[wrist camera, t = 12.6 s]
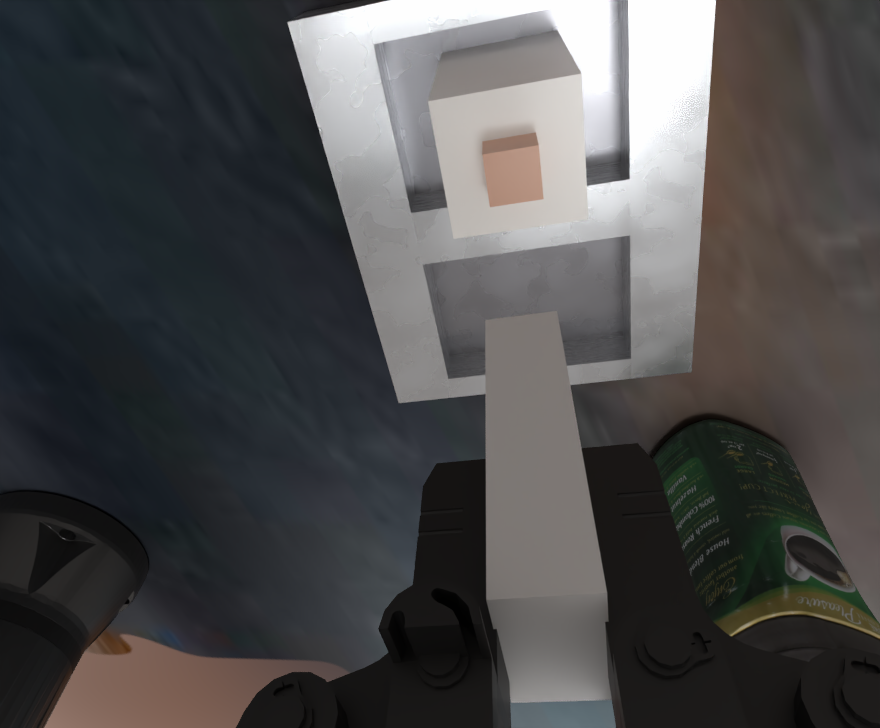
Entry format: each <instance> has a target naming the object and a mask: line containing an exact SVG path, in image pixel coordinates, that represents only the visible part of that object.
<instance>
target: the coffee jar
mask: <svg viewBox="0 0 880 728" xmlns="http://www.w3.org/2000/svg"><path fill="white" fill-rule="evenodd" d="M652 460H653V461H654V462H655V463H656V464H657V467H658V470H659V473H660V477H661V480H662V483H663V486H664V490H665V495H666V496H667V499H668V503H669V506H670V509H671V515H672V516H673V519H674V522H675V526H676V529H677V532H678V535H679V539H680V542H681V545H682V548H683V552H684V555H685V558H686V561H687V565H688V568H689V571H690V575H691V578H692V581H693V584H694V588H695V591H696V594H697V597H698V599H699V601H700V603H701V605H702V608H703V609H704V611H705V612H706V613H707V615H708V616H709V617H710V618H711V620H712V621H713V622H714V623H715V624H716V625H717V626H719V627H720V628H721V629H722V630H723V631H724V632H725V633H727V634H728V635H730V636H732V637H733V638H735V639H737V640H739V641H740V642H742V643H744V644H747V645H750V646H753V647H755V648H758V649H761V650H765V651H769V652H772V653H776V654H780V655H784V656H788V657H792V658H796V659H800V660H803V661H807V662H809V661H810V659H812V658H813V657H815V656H817V655H819V654H821V653H822V652H824V651H826V650H828V649H841V648H854V649H858V650H862V651H866V652H870V653H874V654H877V655H879V656H880V624H879V622H878V621H877V620H876V618H875V617H874V615H873V614H872V612H871V611H870V609H869V608H868V606H867V605H866V603H865V602H864V600H863V598H862V597H861V595H860V593H859V592H858V590H857V588H856V587H855V585H854V583H853V582H852V580H851V578H850V576H849V574H848V572H847V570H846V568H845V566H844V564H843V562H842V560H841V558H840V556H839V554H838V552H837V550H836V548H835V546H834V544H833V542H832V540H831V538H830V536H829V534H828V532H827V530H826V528H825V526H824V524H823V521H822V520H821V518H820V516H819V514H818V511H817V509H816V507H815V505H814V503H813V500H812V498H811V496H810V494H809V492H808V490H807V487H806V485H805V483H804V481H803V479H802V477H801V475H800V473H799V471H798V469H797V467H796V465H795V463H794V461H793V459H792V457H791V456H790V454H789V453H788V451H787V450H785V449H784V448H783V447H782V446H780V445H778V444H777V443H775V442H774V441H772V440H770V439H768V438H767V437H765V436H763V435H761V434H758V433H756V432H754V431H752V430H749V429H747V428H744V427H741V426H738V425H735V424H732V423H729V422H726V421H722V420H715V419H711V420H704V421H701V422H697V423H694V424H691V425H689V426H687V427H685V428H684V429H682V430H681V431H679V432H677V433H676V434H674V435H673V436H672V437H671V438H670V439H668V440H667V441H666V442H665V443H664V445H663V446H662V447H661V448H660V449H659V450H658V452H657V453H656V454H655V456H654V457H653V459H652Z"/></svg>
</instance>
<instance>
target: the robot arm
mask: <svg viewBox="0 0 880 728" xmlns="http://www.w3.org/2000/svg"><path fill="white" fill-rule="evenodd" d="M485 377H486V459H480V460H469V461H459V462H448V463H437V464H436V465H435V467H434V469H433V471H432V472H431V474H430V476H429V477H428V479H427V481H426V482H425V484H424V486H423V493H422V503H421V516H420V522H419V537H418V541H417V551H416V560H415V570H414V580H413V585H412V586H410V587H409V588H407V589H406V590H404V591H403V592H401V593H399V594H398V595H397V596H396V597H395V598H394V600H393V601H392V602H391V603H390V604H389V606H388V607H387V608H386V609H385V611H384V614H383V617H382V620H381V623H380V626H379V632H380V634H381V636H382V638H383V641H384V643H385V645H386V647H387V650H388V652H389V653H387V654H386V655H385V656H384V657H382V658H381V659H380V660H379V661H377V662H375V663H373V664H371V665H369V666H367V667H365V668H363V669H360V670H358V671H355V672H353V673H350V674H347V675H345V676H342V677H340V678H337V679H335V680H332V681H330V682H326V680H325V679H323V678H321V677H319V676H317V675H315V674H313V673H311V672H292V673H289V674H287V675H284V676H281V677H279V678H277V679H274V680H273V681H271V682H270V683H269V684H268V685H267V686H265V687H264V688H263V689H262V690H261V691H259V692H258V693H257V694H256V696H255V697H254V698H253V700H252V701H251V703H250V704H249V706H248V707H247V708H246V710H245V711H244V713H243V715H242V717H241V719H240V721H239V723H238V725H237V727H236V728H511V713H510V698H511V702H512V703H522V702H555V701H588V700H612V704H613V710H614V716H615V722H616V728H880V656H879V655H877V654H874V653H870V652H866V651H862V650H858V649H854V648H841V649H828V650H826V651H824V652H822V653H821V654H819V655H817V656H815V657H813V658H812V659H810V661H809V662H807V661H803V660H800V659H796V658H792V657H788V656H784V655H780V654H776V653H772V652H769V651H765V650H761V649H758V648H755V647H753V646H750V645H747V644H744V643H742V642H740V641H739V640H737V639H735V638H733V637H732V636H730V635H728V634H727V633H725V632H724V631H723V630H722V629H721V628H720V627H719V626H717V625H716V624H715V623H714V622H713V621H712V620H711V618H710V617H709V616H708V615H707V613H706V612H705V611H704V609H703V608H702V605H701V603H700V601H699V599H698V597H697V594H696V591H695V588H694V584H693V581H692V578H691V575H690V571H689V568H688V565H687V561H686V558H685V555H684V552H683V548H682V545H681V542H680V539H679V535H678V532H677V529H676V526H675V522H674V519H673V516H672V515H671V509H670V506H669V503H668V499H667V496H666V495H665V490H664V486H663V483H662V480H661V477H660V473H659V470H658V467H657V464H656V463H655V462H654V461H653V460H652V459H651V457H650V456H649V455H648V454H647V453H646V452H645V451H644V450H643V449H642V448H641V447H640V446H639V444H638V443H635V444H624V445H614V446H603V447H592V448H581V443H580V438H579V432H578V426H577V421H576V415H575V410H574V404H573V398H572V393H571V387H570V381H569V376H568V370H567V365H566V359H565V353H564V348H563V342H562V336H561V331H560V325H559V320H558V314H557V311H552V312H544V313H536V314H528V315H520V316H513V317H505V318H497V319H489V320H485ZM148 568H149V565H148V558H147V555H146V553H145V551H144V549H143V547H142V546H141V544H140V543H139V541H138V540H137V539H136V538H135V537H134V536H133V534H132V533H130V532H129V531H128V530H127V529H126V528H125V527H124V526H122V525H121V524H120V523H119V522H117V521H116V520H114V519H113V518H111V517H110V516H108V515H106V514H104V513H103V512H101V511H99V510H97V509H95V508H93V507H91V506H88V505H86V504H84V503H81V502H78V501H75V500H72V499H69V498H66V497H62V496H58V495H53V494H48V493H40V492H12V493H6V494H2V495H0V728H44V727H45V725H46V723H47V721H48V719H49V717H50V716H51V714H52V712H53V710H54V708H55V706H56V704H57V702H58V700H59V698H60V697H61V695H62V693H63V691H64V689H65V687H66V685H67V683H68V681H69V679H70V677H71V675H72V673H73V671H74V670H75V667H76V666H77V664H78V662H79V660H80V658H81V657H82V655H83V653H84V652H85V650H86V649H87V648H88V647H89V646H90V645H91V644H92V643H93V642H94V641H95V640H96V639H97V638H98V637H99V635H100V634H101V633H102V632H103V631H104V630H105V629H106V628H107V627H108V626H109V624H110V623H111V622H112V621H113V620H114V618H115V617H116V616H117V614H118V613H119V612H121V611H123V610H124V609H125V608H127V607H128V606H129V605H130V604H131V602H132V601H133V600H134V599H135V597H136V596H137V594H138V592H139V590H140V588H141V586H142V584H143V582H144V580H145V578H146V576H147V573H148Z"/></svg>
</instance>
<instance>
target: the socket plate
mask: <svg viewBox="0 0 880 728" xmlns="http://www.w3.org/2000/svg"><path fill="white" fill-rule="evenodd" d="M715 4H716V0H358V1H354V2H349V3H344V4H340V5H335V6H330V7H325V8H321V9H316V10H311V11H307V12H303V13H301V14H300V15H298V16H296V17H295V18H293V19H292V20H290V21H288V26H289V29H290V33H291V36H292V40H293V43H294V46H295V50H296V53H297V57H298V60H299V63H300V67H301V70H302V74H303V77H304V81H305V84H306V87H307V91H308V94H309V98H310V101H311V104H312V108H313V111H314V115H315V118H316V122H317V125H318V128H319V132H320V135H321V139H322V142H323V146H324V149H325V152H326V156H327V159H328V163H329V166H330V169H331V173H332V176H333V180H334V183H335V187H336V190H337V193H338V197H339V200H340V204H341V207H342V210H343V214H344V217H345V221H346V224H347V228H348V231H349V234H350V238H351V241H352V245H353V248H354V251H355V255H356V258H357V262H358V265H359V269H360V272H361V275H362V279H363V282H364V286H365V289H366V292H367V296H368V299H369V303H370V306H371V310H372V313H373V316H374V320H375V323H376V327H377V330H378V333H379V337H380V340H381V344H382V347H383V351H384V354H385V357H386V361H387V364H388V368H389V371H390V375H391V378H392V381H393V385H394V388H395V392H396V395H397V398H398V402H399V403H405V402H414V401H424V400H433V399H443V398H452V397H461V396H471V395H480V394H486V377H485V320H489V319H497V318H505V317H513V316H520V315H528V314H536V313H544V312H552V311H557V314H558V320H559V325H560V331H561V336H562V342H563V348H564V353H565V359H566V365H567V370H568V376H569V381H570V385H575V384H584V383H593V382H603V381H612V380H622V379H631V378H641V377H650V376H659V375H669V374H678V373H688V372H691V371H692V356H693V340H694V325H695V310H696V294H697V279H698V264H699V248H700V233H701V218H702V203H703V187H704V172H705V157H706V141H707V126H708V111H709V95H710V80H711V65H712V50H713V34H714V19H715ZM557 30H558V32H559V34H560V36H561V37H562V39H563V41H564V43H565V45H566V46H567V48H568V50H569V52H570V54H571V55H572V57H573V59H574V61H575V63H576V64H577V66H578V68H579V70H580V72H581V73H582V94H583V116H584V137H585V158H586V179H587V200H588V219H587V220H581V221H574V222H567V223H560V224H553V225H546V226H539V227H532V228H526V229H519V230H512V231H505V232H498V233H491V234H484V235H478V236H471V237H464V238H457V239H453V233H452V228H451V223H450V217H449V212H448V207H447V201H446V196H445V190H444V185H443V180H442V174H441V169H440V164H439V158H438V153H437V148H436V142H435V137H434V132H433V126H432V121H431V115H430V110H429V105H428V99H429V96H430V92H431V89H432V85H433V82H434V78H435V75H436V71H437V68H438V64H439V61H440V57H441V54H442V53H443V52H448V51H453V50H458V49H464V48H469V47H474V46H479V45H484V44H489V43H495V42H500V41H505V40H510V39H515V38H520V37H526V36H531V35H536V34H541V33H546V32H551V31H557Z"/></svg>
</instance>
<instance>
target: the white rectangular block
mask: <svg viewBox="0 0 880 728" xmlns="http://www.w3.org/2000/svg"><path fill="white" fill-rule="evenodd" d="M428 105H429V110H430V115H431V121H432V126H433V132H434V137H435V142H436V148H437V153H438V158H439V164H440V169H441V174H442V180H443V185H444V190H445V196H446V201H447V207H448V212H449V217H450V223H451V228H452V233H453V239H457V238H464V237H471V236H478V235H484V234H491V233H498V232H505V231H512V230H519V229H526V228H532V227H539V226H546V225H553V224H560V223H567V222H574V221H581V220H587V219H588V200H587V179H586V158H585V137H584V116H583V94H582V73H581V72H580V70H579V68H578V66H577V64H576V63H575V61H574V59H573V57H572V55H571V54H570V52H569V50H568V48H567V46H566V45H565V43H564V41H563V39H562V37H561V36H560V34H559V32H558V30H557V31H551V32H546V33H541V34H536V35H531V36H526V37H520V38H515V39H510V40H505V41H500V42H495V43H489V44H484V45H479V46H474V47H469V48H464V49H458V50H453V51H448V52H443V53H442V54H441V57H440V61H439V64H438V68H437V71H436V75H435V78H434V82H433V85H432V89H431V92H430V96H429V99H428Z"/></svg>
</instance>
